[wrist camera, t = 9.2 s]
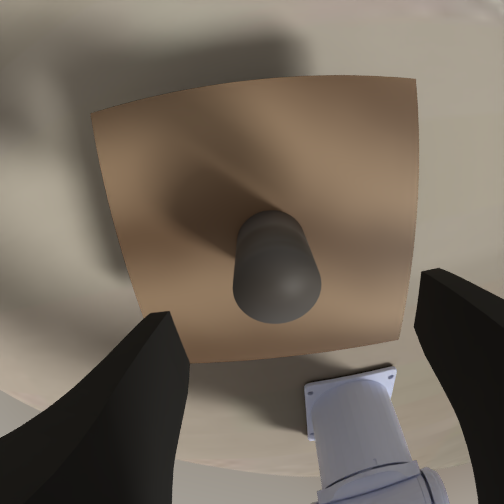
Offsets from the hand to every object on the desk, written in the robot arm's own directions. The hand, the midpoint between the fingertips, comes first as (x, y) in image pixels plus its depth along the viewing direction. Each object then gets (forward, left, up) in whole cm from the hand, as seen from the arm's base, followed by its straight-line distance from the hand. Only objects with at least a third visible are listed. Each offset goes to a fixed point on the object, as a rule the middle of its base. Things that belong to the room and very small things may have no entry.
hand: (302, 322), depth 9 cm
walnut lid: (0, +1, -6) cm, 6 cm away
